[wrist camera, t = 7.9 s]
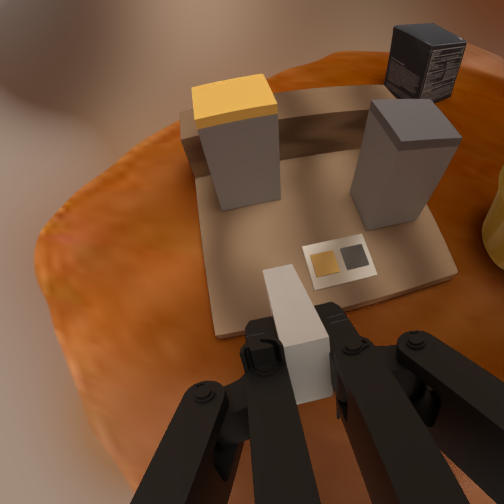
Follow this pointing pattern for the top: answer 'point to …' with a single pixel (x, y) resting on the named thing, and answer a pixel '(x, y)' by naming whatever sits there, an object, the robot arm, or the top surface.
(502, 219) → the plant pot
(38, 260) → the top surface
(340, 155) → the console
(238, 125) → the button
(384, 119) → the button
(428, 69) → the small box
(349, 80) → the top surface
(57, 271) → the top surface
